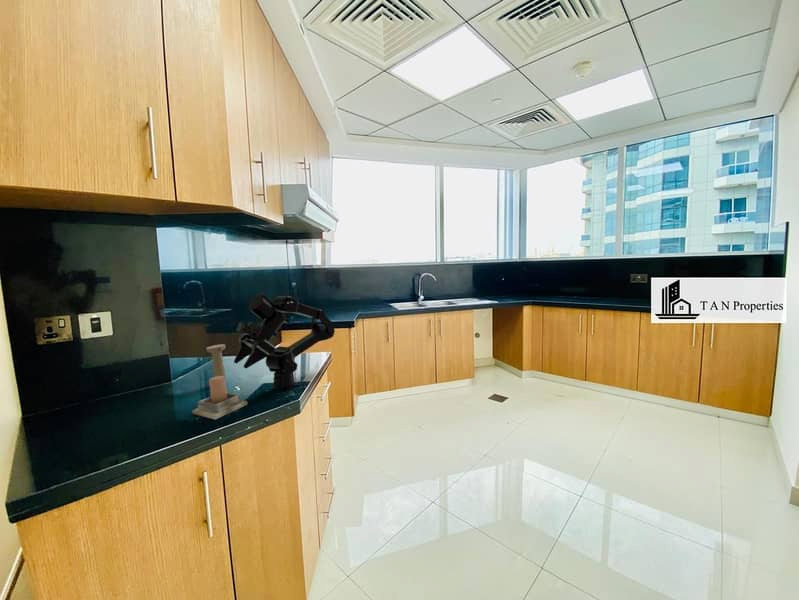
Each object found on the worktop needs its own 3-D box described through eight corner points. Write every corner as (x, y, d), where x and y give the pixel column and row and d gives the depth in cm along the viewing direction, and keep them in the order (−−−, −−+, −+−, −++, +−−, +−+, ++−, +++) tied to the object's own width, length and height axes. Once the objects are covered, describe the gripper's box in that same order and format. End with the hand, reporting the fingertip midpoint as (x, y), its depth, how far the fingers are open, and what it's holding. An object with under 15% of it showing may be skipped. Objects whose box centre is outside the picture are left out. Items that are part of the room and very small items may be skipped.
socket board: (225, 399, 110) (224, 389, 110) (247, 404, 105) (246, 394, 105) (192, 413, 101) (191, 402, 100) (215, 419, 96) (213, 408, 95)
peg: (219, 402, 106) (215, 375, 104) (231, 402, 105) (228, 375, 104) (209, 408, 101) (205, 380, 100) (221, 409, 100) (218, 380, 99)
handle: (231, 382, 127) (227, 345, 126) (214, 388, 122) (209, 349, 121) (225, 380, 130) (221, 343, 129) (208, 385, 125) (204, 347, 124)
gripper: (241, 311, 116) (210, 348, 109) (262, 314, 102) (227, 356, 96) (265, 329, 122) (237, 365, 115) (288, 334, 108) (257, 375, 102)
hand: (239, 365), depth 107 cm, fingers open, 9 cm apart
